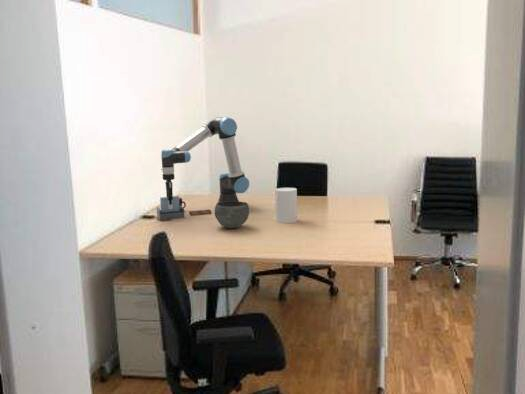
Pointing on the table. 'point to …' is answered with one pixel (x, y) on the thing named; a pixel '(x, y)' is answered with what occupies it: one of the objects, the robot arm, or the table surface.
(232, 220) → the bowl
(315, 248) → the table surface
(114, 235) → the table surface
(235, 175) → the robot arm
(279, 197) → the canister
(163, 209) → the light blue slab
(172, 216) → the rack
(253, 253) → the table surface
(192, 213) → the stand
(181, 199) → the mug
